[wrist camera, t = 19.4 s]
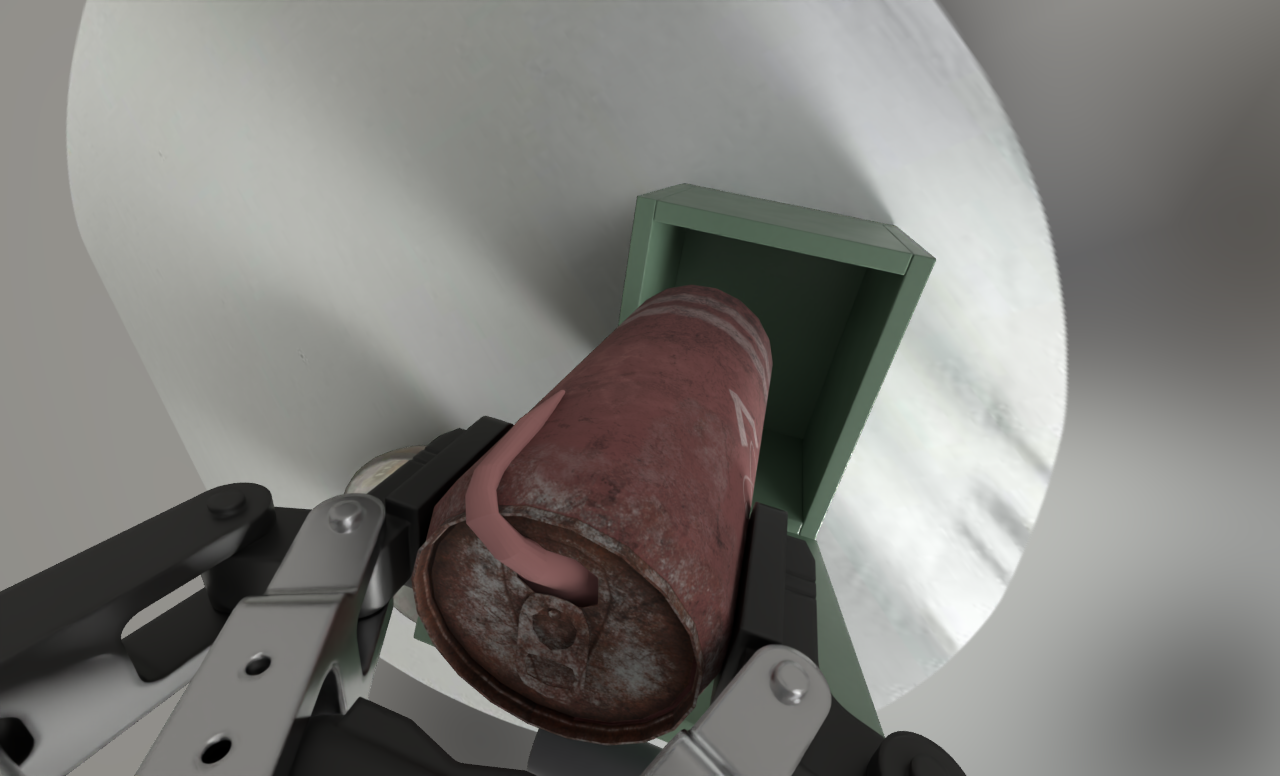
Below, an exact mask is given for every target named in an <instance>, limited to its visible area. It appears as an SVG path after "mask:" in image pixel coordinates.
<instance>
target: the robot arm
mask: <svg viewBox="0 0 1280 776" xmlns="http://www.w3.org/2000/svg"><path fill="white" fill-rule="evenodd" d="M513 426H514V425H513V424H511V423H508V422H505V421H501V420H498V419H495V418H492V417H489V416H483V417H481V418H480V419H479V420H478V421H476V422H475V423H474V424H473V425H472V426H470V427H469V428H468V429H467V430H464V429H461V428H459V429H456V430H454V431H451V432H448V433H446V434H443V435H441V436H439V437H438V438H436V439H435V440H434V441H433V442H431V443H430V444H429V445H427V446H426V447H425V449H424V450H421V451H420V452H419V453H417V454H416V455H415V456H414V457H413V459H412V460H408V461H407V462H406V463H405V464H403V465H402V466H401V467H400V468H398V469H397V470H396V471H395V472H393V473H392V474H391V475H390V476H388V477H387V478H386V479H384V480H383V481H382V482H381V483H379V484H378V485H377V486H376V487H374V488H373V489H372V490H371V491H369V492H368V493H367V494H363V493H349V494H343V495H339V496H335V497H332V498H330V499H328V500H325V501H324V502H322V503H320V504H319V505H317V506H316V507H315V508H314V509H313V510H310V509H297V508H284V507H274V504H273V500H272V496H271V493H270V491H269V490H268V489H267V488H265V487H264V486H262V485H259V484H255V483H233V484H228V485H223V486H219V487H216V488H213V489H211V490H208V491H206V492H204V493H202V494H200V495H198V496H196V497H194V498H192V499H190V500H187V501H186V502H183V503H181V504H179V505H177V506H175V507H173V508H171V509H169V510H167V511H165V512H163V513H161V514H159V515H157V516H155V517H153V518H151V519H148V520H146V521H144V522H143V523H140V524H138V525H136V526H134V527H132V528H130V529H128V530H126V531H124V532H122V533H120V534H118V535H116V536H114V537H112V538H110V539H107V540H106V541H103V542H101V543H99V544H97V545H96V546H93V547H91V548H89V549H87V550H85V551H83V552H81V553H79V554H77V555H75V556H73V557H71V558H68V559H66V560H65V561H63V562H60V563H58V564H56V565H54V566H52V567H50V568H48V569H46V570H44V571H42V572H40V573H38V574H36V575H34V576H32V577H30V578H27V579H25V580H23V581H21V582H19V583H17V584H15V585H13V586H11V587H9V588H7V589H5V590H3V591H1V592H0V776H66V775H67V774H68V773H70V772H71V771H72V770H74V769H75V768H76V767H78V766H79V765H80V764H82V763H83V762H84V761H86V760H87V759H88V758H90V757H91V756H92V755H94V754H95V753H96V752H98V751H99V750H100V749H102V748H103V747H104V746H106V745H107V744H108V743H110V742H111V741H112V740H114V739H115V738H116V737H117V736H119V735H120V734H122V733H123V732H124V731H125V730H127V729H128V728H130V727H131V726H132V725H134V724H135V723H136V722H138V721H139V720H140V719H142V718H143V717H144V716H146V715H147V714H148V713H149V712H151V711H152V710H153V709H155V708H156V707H158V706H159V705H160V704H161V703H163V702H164V701H165V700H167V699H168V698H170V697H171V696H172V695H174V694H175V693H176V692H177V691H179V690H180V689H181V688H183V687H184V686H185V685H187V684H188V683H189V682H190V683H189V685H188V687H187V688H186V690H185V692H184V693H183V695H182V697H181V698H180V700H179V702H178V703H177V705H176V707H175V708H174V710H173V712H172V713H171V715H170V717H169V718H168V720H167V722H166V724H165V725H164V727H163V728H162V730H161V732H160V734H159V735H158V737H157V739H156V740H155V742H154V744H153V745H152V747H151V749H150V750H149V752H148V754H147V755H146V757H145V759H144V760H143V762H142V764H141V765H140V767H139V769H138V770H137V772H136V774H135V775H134V776H537V775H535V774H532V773H530V772H528V771H524V770H516V769H507V768H498V767H489V766H480V765H472V764H464V763H460V762H457V761H455V760H454V759H453V758H452V757H451V756H449V755H448V754H447V753H446V752H445V751H444V750H443V749H442V748H441V747H440V746H439V745H438V744H437V743H436V742H435V741H433V739H431V738H430V737H429V736H428V735H427V734H426V733H425V732H424V731H423V730H422V729H421V728H420V727H419V726H417V724H416V723H415V722H414V721H412V720H411V719H409V718H407V717H405V716H402V715H400V714H398V713H396V712H394V711H391V710H389V709H387V708H385V707H382V706H380V705H378V704H376V703H373V702H371V701H369V700H368V699H369V692H370V687H371V683H372V680H373V676H374V672H375V669H376V666H377V662H378V659H379V655H380V652H381V648H382V645H383V641H384V638H385V634H386V631H387V627H388V624H389V620H390V617H391V613H392V610H393V605H394V599H393V596H394V595H395V594H396V593H397V592H398V591H399V590H400V588H401V587H402V586H403V585H405V586H407V587H410V588H412V589H413V587H412V581H411V578H412V574H413V570H414V566H415V562H416V557H417V553H418V550H419V549H420V547H421V546H422V545H423V544H424V543H425V542H426V538H427V534H428V530H429V526H430V522H431V518H432V514H433V510H434V506H435V505H436V504H437V503H438V502H439V501H440V500H441V498H442V497H443V496H444V495H445V494H446V493H447V491H448V490H449V489H450V488H451V487H452V486H453V485H454V483H455V482H456V481H457V480H458V479H459V478H460V477H461V476H462V475H463V474H464V473H465V472H466V471H467V470H469V469H470V468H471V467H472V466H473V465H474V464H475V463H476V462H477V461H478V460H479V459H480V458H481V457H482V456H483V455H484V454H485V453H486V452H487V451H488V450H489V449H491V448H492V447H493V446H494V445H495V444H496V443H497V442H498V441H499V440H500V439H501V438H502V437H503V436H504V435H505V434H506V433H507V432H508V431H509V430H510V429H511V428H512V427H513ZM787 526H788V512H787V511H785V510H781V509H778V508H775V507H772V506H769V505H766V504H762V503H759V502H755V504H754V507H753V509H752V512H751V515H750V518H749V524H748V530H747V537H746V544H745V550H744V557H743V563H742V570H741V577H740V583H739V590H738V596H737V603H736V610H735V616H734V623H733V629H732V635H731V639H730V643H729V647H728V651H727V655H726V658H725V661H724V664H723V667H722V669H721V671H720V673H719V674H718V675H717V676H716V677H715V678H714V683H713V689H712V695H711V701H710V707H709V708H708V709H707V710H706V712H705V713H704V714H703V715H702V716H701V718H700V719H699V720H698V721H697V722H696V723H695V725H694V726H693V727H692V728H691V729H689V730H688V731H687V730H686V729H682V730H681V731H679V732H678V733H677V734H676V735H675V736H674V737H673V738H672V739H671V740H670V741H669V742H668V744H667V745H666V746H665V747H664V748H663V749H662V751H661V752H660V753H659V754H658V755H657V756H656V758H655V759H654V760H653V761H652V762H651V763H650V765H649V766H648V767H647V768H646V769H645V770H644V771H643V773H642V774H641V775H640V776H966V775H965V773H964V772H963V770H962V769H961V767H959V765H958V764H957V763H956V762H955V760H954V759H953V758H952V757H951V756H950V755H949V754H948V753H947V752H946V751H945V750H943V749H942V748H941V747H940V746H938V745H937V744H936V743H934V742H933V741H931V740H929V739H928V738H926V737H924V736H922V735H919V734H916V733H913V732H908V731H898V732H894V733H891V734H890V735H888V736H887V737H886V738H884V737H883V736H882V735H880V734H879V733H877V732H876V731H874V730H873V729H872V728H870V727H869V726H867V725H866V724H865V723H863V722H862V721H860V720H859V719H857V718H856V717H855V716H853V715H852V714H851V713H850V712H848V711H847V710H846V709H845V708H844V707H843V706H842V705H841V704H840V703H839V702H838V701H837V700H836V699H835V698H834V696H833V695H832V694H831V692H830V688H829V685H828V682H827V680H826V678H825V677H824V675H823V673H822V672H821V670H820V668H819V662H818V633H817V600H816V583H815V581H816V564H815V559H814V557H813V555H812V553H811V551H810V549H809V547H808V545H807V543H806V541H804V540H801V539H798V538H795V537H792V536H789V535H787ZM199 575H201V577H202V579H203V582H204V585H205V587H204V588H203V589H201V590H200V591H198V592H196V593H195V594H193V595H192V596H190V597H189V598H187V599H185V600H184V601H182V602H181V603H179V604H177V605H176V606H174V607H173V608H171V609H169V610H168V611H166V612H165V613H163V614H161V615H160V616H158V617H157V618H155V619H154V620H152V621H150V622H149V623H147V624H146V625H144V626H142V627H141V628H139V629H138V630H136V631H134V632H133V633H131V634H130V635H128V636H127V637H125V638H123V639H121V634H122V631H123V628H124V627H125V625H126V624H127V623H128V622H129V620H130V619H131V618H132V617H133V616H135V615H136V614H137V613H138V612H140V611H141V610H143V609H144V608H146V607H148V606H149V605H151V604H153V603H154V602H156V601H158V600H159V599H161V598H163V597H164V596H166V595H167V594H169V593H171V592H173V591H174V590H175V589H177V588H179V587H181V586H182V585H184V584H186V583H187V582H189V581H191V580H192V579H194V578H196V577H197V576H199Z"/></svg>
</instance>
